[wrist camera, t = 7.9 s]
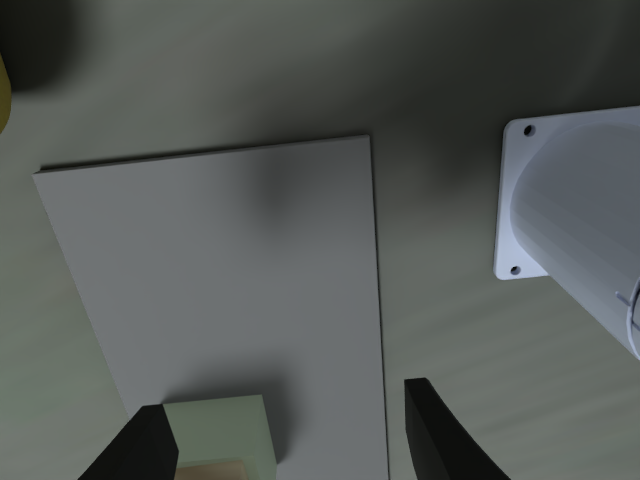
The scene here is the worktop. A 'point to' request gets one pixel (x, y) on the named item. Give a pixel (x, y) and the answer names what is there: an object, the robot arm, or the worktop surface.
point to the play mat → (238, 289)
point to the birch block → (213, 471)
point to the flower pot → (4, 96)
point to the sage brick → (224, 434)
